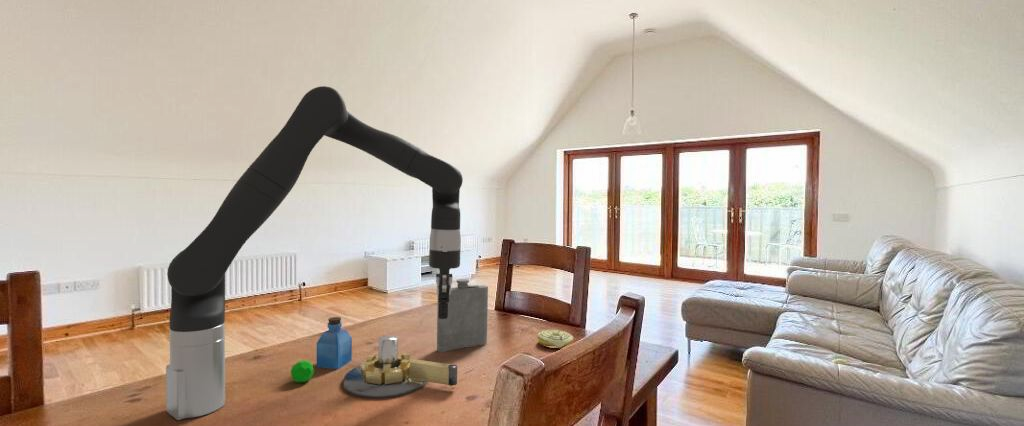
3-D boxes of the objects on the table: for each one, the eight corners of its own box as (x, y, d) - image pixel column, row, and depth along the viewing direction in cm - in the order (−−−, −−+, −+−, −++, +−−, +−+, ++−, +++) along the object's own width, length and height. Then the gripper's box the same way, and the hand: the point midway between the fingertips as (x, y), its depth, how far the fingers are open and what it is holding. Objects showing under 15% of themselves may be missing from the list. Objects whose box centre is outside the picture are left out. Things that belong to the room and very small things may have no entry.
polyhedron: (307, 375, 109) (307, 356, 109) (317, 381, 106) (317, 361, 106) (286, 381, 105) (287, 361, 105) (296, 387, 102) (296, 367, 102)
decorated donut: (563, 354, 128) (563, 341, 128) (531, 346, 134) (531, 333, 134) (578, 344, 137) (578, 332, 137) (547, 337, 143) (548, 325, 143)
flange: (380, 407, 94) (381, 359, 93) (326, 382, 105) (326, 339, 105) (446, 376, 110) (447, 336, 110) (393, 358, 122) (393, 321, 121)
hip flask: (439, 352, 127) (440, 283, 126) (434, 348, 130) (435, 280, 129) (488, 344, 135) (490, 278, 134) (482, 340, 138) (483, 276, 137)
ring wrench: (350, 379, 104) (351, 362, 103) (380, 361, 115) (380, 346, 115) (445, 395, 97) (445, 377, 96) (466, 374, 108) (467, 358, 108)
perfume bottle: (338, 369, 113) (338, 322, 113) (316, 366, 115) (316, 320, 114) (351, 360, 119) (351, 316, 119) (330, 358, 121) (331, 314, 120)
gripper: (429, 244, 114) (427, 311, 115) (428, 250, 101) (426, 326, 102) (459, 245, 116) (457, 311, 116) (461, 251, 103) (459, 325, 103)
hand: (442, 318), depth 109 cm, fingers closed
